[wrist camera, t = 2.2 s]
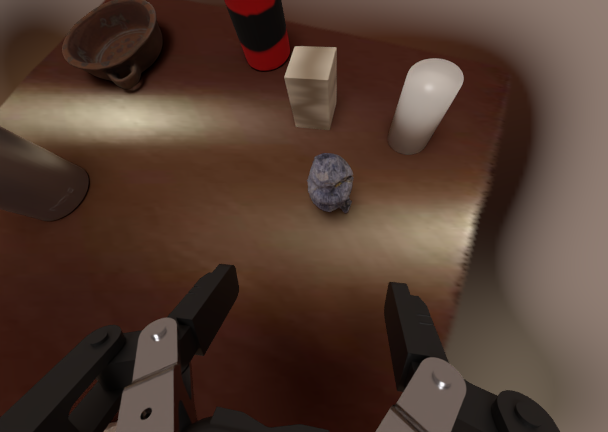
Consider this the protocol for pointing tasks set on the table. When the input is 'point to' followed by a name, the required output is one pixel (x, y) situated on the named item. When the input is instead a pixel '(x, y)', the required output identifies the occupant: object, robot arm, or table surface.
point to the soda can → (261, 31)
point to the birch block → (312, 86)
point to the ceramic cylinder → (423, 104)
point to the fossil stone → (330, 182)
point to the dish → (115, 41)
